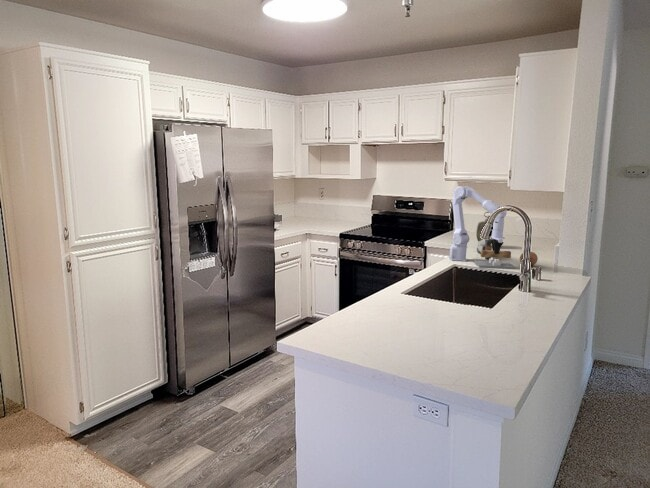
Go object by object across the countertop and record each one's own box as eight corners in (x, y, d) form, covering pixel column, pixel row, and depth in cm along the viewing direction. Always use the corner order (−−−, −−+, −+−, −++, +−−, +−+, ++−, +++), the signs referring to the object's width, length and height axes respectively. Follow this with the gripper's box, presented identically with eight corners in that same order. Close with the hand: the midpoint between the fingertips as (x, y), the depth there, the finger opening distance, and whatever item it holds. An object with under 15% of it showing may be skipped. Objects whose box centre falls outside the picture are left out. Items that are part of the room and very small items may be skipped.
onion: (521, 269, 277) (516, 253, 279) (538, 266, 275) (533, 250, 277) (523, 267, 268) (519, 250, 270) (541, 263, 266) (536, 246, 268)
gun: (483, 261, 312) (484, 239, 314) (494, 258, 285) (494, 233, 287) (475, 261, 313) (476, 238, 314) (485, 257, 286) (486, 233, 287)
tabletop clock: (475, 247, 329) (478, 211, 325) (475, 245, 338) (477, 210, 333) (497, 248, 326) (501, 212, 321) (496, 246, 334) (499, 211, 330)
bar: (481, 257, 269) (482, 251, 268) (480, 256, 272) (480, 250, 271) (510, 258, 268) (511, 252, 267) (509, 257, 271) (509, 251, 270)
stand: (479, 267, 266) (479, 259, 265) (474, 262, 277) (474, 255, 277) (515, 269, 264) (516, 261, 263) (509, 264, 276) (509, 256, 275)
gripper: (509, 231, 260) (506, 255, 262) (501, 227, 274) (499, 250, 276) (495, 231, 260) (493, 255, 263) (489, 227, 274) (487, 250, 277)
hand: (495, 253), depth 269 cm, fingers closed on bar, 3 cm apart
